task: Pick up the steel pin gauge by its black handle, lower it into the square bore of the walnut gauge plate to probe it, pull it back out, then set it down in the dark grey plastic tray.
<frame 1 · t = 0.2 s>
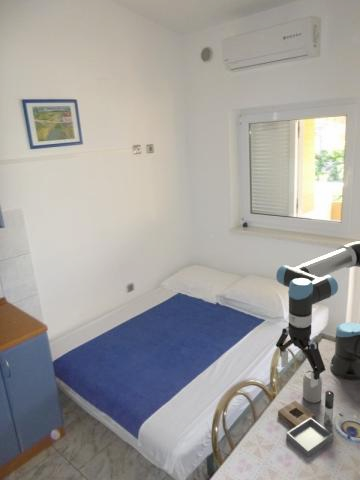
hand: (298, 375, 134), 27 cm above the table, fingers open, 13 cm apart
pin gauge: (328, 422, 146), on the table
tray: (309, 438, 140), on the table
can: (311, 398, 160), on the table
gauge plate: (296, 417, 150), on the table
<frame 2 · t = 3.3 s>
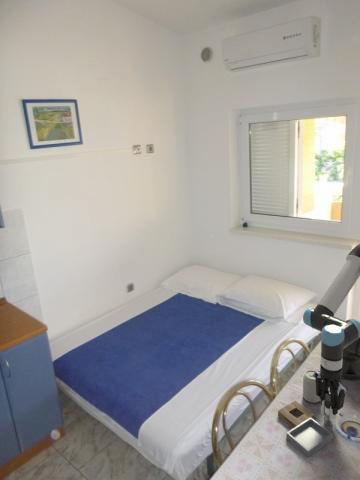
hand: (328, 416, 145), 3 cm above the table, fingers closed on pin gauge, 3 cm apart
pin gauge: (328, 422, 146), on the table, touching gripper
everything else where it was.
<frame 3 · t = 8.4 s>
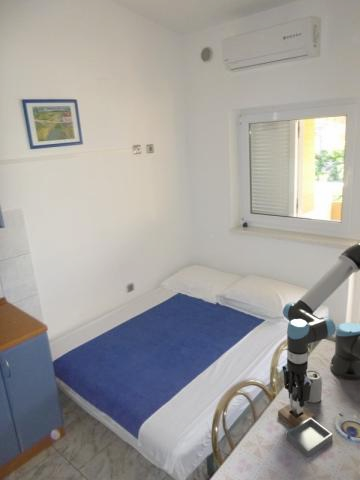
hand: (296, 409, 149), 4 cm above the table, fingers closed on pin gauge, 3 cm apart
pin gauge: (296, 415, 150), point 1 cm above the table, touching gripper
everything else where it was.
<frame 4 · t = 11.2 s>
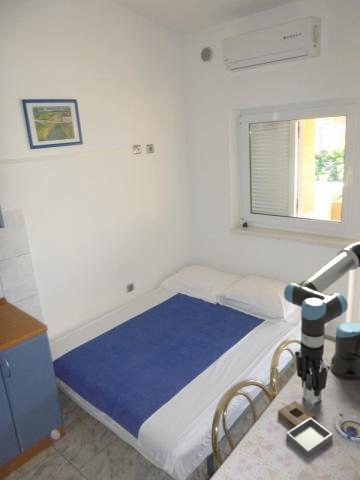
hand: (310, 398, 134), 18 cm above the table, fingers closed on pin gauge, 3 cm apart
pin gauge: (309, 405, 135), point 15 cm above the table, touching gripper
everything else where it was.
when the fingers open (5 cm above the table, at t = 13.7 s): pin gauge drops 1 cm, resting on tray.
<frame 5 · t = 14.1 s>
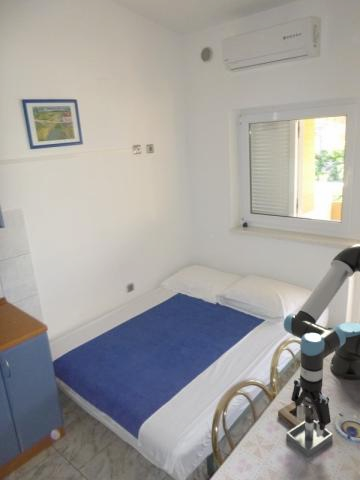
hand: (309, 426, 138), 6 cm above the table, fingers open, 8 cm apart
pin gauge: (309, 437, 140), point 1 cm above the table, touching tray
everything else where it was.
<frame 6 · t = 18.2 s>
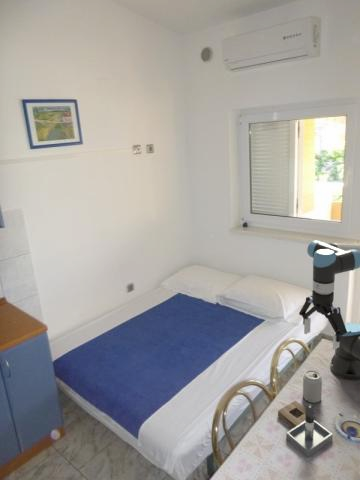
hand: (321, 340, 146), 32 cm above the table, fingers open, 13 cm apart
nothing on the table moved.
at the end: pin gauge inside the target area on the tray (0.1 cm from its centre), point 0.6 cm above the tray's base; the gripper is holding nothing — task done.
